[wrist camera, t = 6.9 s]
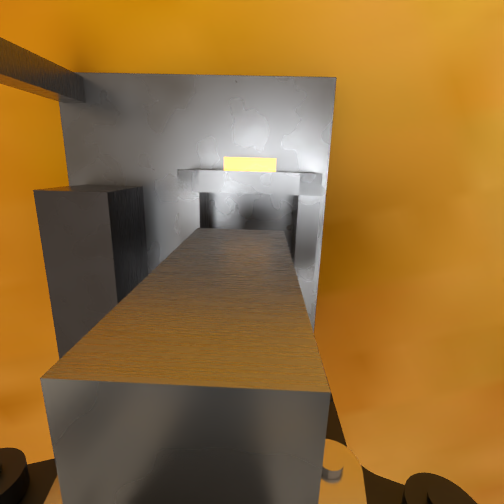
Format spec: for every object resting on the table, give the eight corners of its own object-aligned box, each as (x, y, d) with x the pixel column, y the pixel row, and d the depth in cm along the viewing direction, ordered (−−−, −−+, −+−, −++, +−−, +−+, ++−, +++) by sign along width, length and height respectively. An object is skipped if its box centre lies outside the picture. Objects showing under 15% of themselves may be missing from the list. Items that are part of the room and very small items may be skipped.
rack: (332, 82, 16) (407, -12, 8) (302, 428, 22) (325, 598, 14) (67, 77, 17) (-145, -16, 8) (106, 417, 23) (7, 573, 14)
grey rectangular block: (283, 230, 11) (331, 392, 3) (272, 439, 13) (282, 817, 6) (197, 227, 11) (39, 378, 3) (201, 435, 13) (116, 803, 6)
